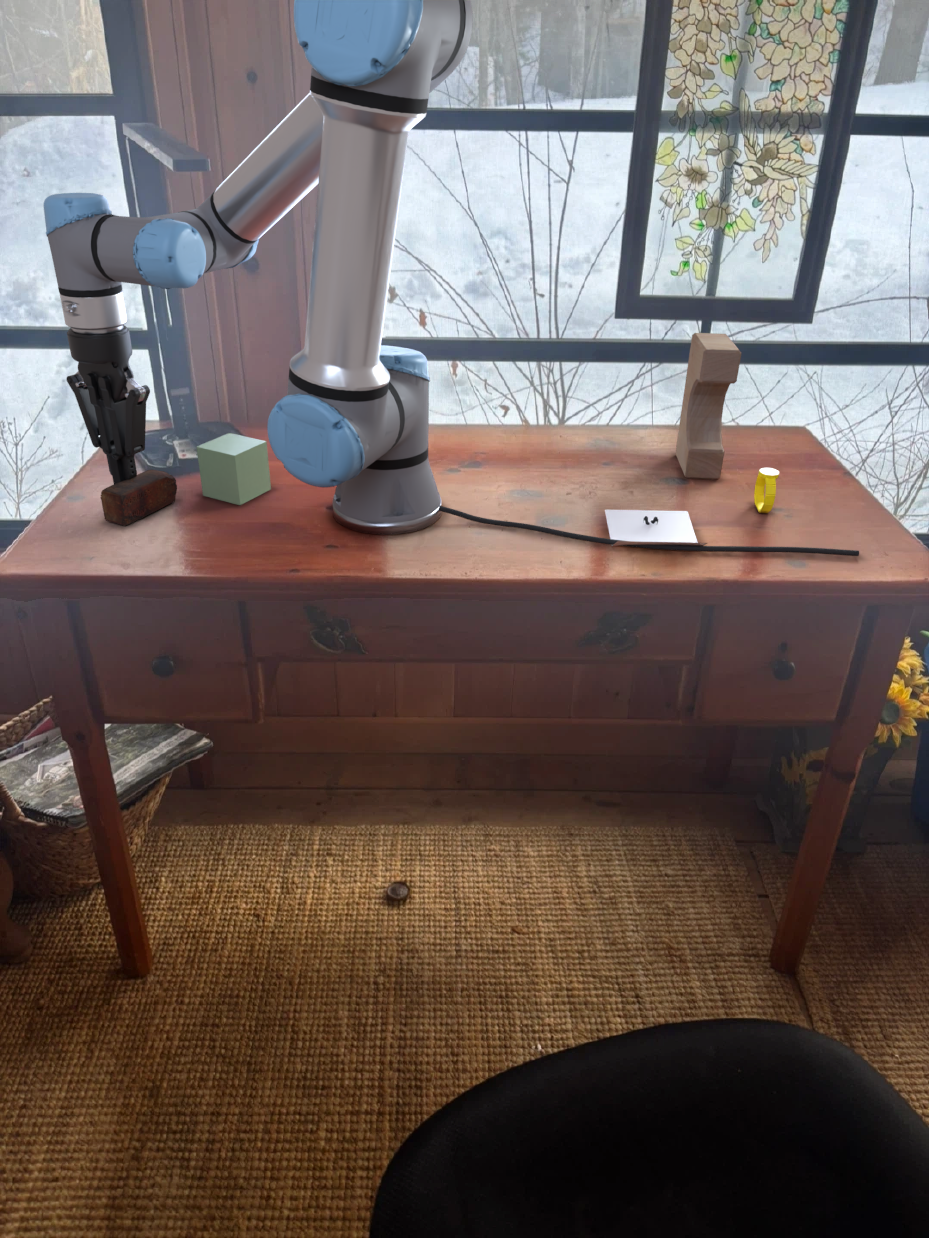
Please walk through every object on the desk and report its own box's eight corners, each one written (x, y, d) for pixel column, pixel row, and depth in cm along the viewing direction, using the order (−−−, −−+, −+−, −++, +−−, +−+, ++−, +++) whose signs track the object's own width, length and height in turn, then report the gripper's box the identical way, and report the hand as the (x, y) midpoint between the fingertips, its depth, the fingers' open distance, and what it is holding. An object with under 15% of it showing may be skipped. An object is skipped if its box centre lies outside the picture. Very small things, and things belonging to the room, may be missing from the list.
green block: (271, 489, 136) (266, 441, 132) (240, 505, 131) (234, 455, 127) (234, 480, 139) (229, 432, 135) (202, 495, 133) (196, 446, 130)
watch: (747, 500, 136) (754, 462, 133) (766, 501, 136) (773, 463, 133) (756, 517, 131) (764, 478, 128) (776, 518, 131) (784, 478, 128)
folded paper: (686, 518, 130) (688, 505, 129) (706, 556, 119) (708, 542, 118) (602, 516, 130) (603, 503, 129) (614, 554, 119) (616, 541, 118)
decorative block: (720, 480, 143) (742, 351, 132) (683, 479, 143) (702, 349, 133) (709, 455, 152) (729, 333, 142) (674, 454, 152) (692, 332, 142)
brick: (126, 528, 123) (121, 496, 121) (104, 521, 125) (98, 490, 122) (179, 501, 132) (175, 470, 129) (157, 495, 133) (153, 465, 131)
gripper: (37, 325, 116) (73, 497, 128) (111, 339, 111) (142, 517, 123) (84, 315, 122) (114, 480, 134) (156, 327, 117) (181, 498, 129)
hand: (127, 498), depth 129 cm, fingers closed
